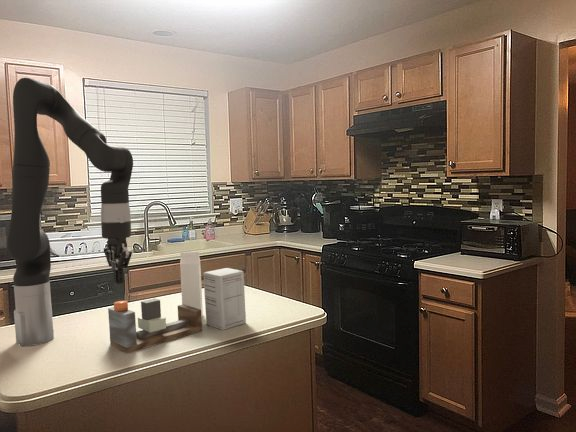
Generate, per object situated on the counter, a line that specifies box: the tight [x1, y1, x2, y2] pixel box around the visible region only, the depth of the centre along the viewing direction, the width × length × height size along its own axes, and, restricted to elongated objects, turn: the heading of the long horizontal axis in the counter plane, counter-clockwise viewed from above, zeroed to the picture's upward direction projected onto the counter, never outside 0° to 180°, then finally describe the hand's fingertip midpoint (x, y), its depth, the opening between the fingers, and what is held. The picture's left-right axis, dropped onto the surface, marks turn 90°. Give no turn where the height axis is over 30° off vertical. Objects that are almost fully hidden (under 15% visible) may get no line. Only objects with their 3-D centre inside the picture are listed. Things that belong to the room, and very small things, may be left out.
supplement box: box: [203, 267, 247, 331], centre depth 148 cm, size 10×9×17 cm
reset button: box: [113, 300, 129, 311], centre depth 130 cm, size 4×4×2 cm
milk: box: [179, 251, 204, 319], centre depth 156 cm, size 6×6×22 cm
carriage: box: [137, 297, 167, 332], centre depth 136 cm, size 5×7×8 cm
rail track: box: [107, 303, 203, 354], centre depth 137 cm, size 24×10×10 cm, turn 135°
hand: (118, 283), depth 129 cm, fingers closed
